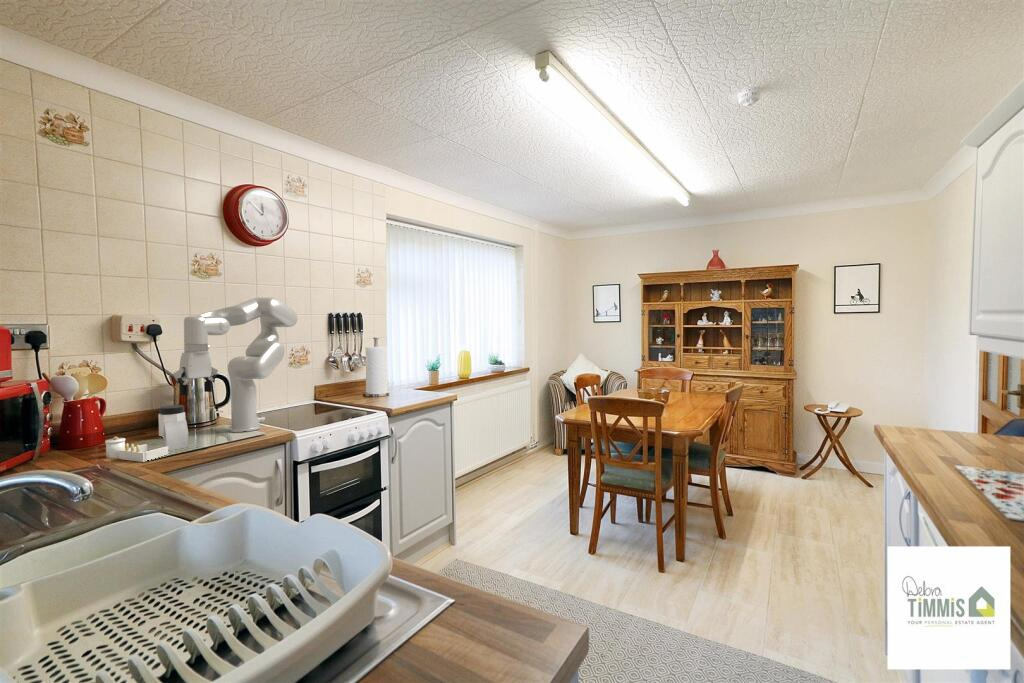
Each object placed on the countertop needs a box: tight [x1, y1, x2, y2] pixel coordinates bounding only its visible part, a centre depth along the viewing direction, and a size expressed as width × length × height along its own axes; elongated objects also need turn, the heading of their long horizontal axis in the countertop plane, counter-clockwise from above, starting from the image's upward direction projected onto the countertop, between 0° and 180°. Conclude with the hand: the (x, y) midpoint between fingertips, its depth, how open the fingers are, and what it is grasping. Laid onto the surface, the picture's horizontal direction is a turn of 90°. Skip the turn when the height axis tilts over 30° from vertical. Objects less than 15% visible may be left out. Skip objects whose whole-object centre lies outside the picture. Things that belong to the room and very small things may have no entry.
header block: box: [118, 442, 169, 463], centre depth 161 cm, size 8×11×5 cm
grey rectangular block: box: [162, 419, 190, 451], centre depth 172 cm, size 4×7×10 cm, turn 141°
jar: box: [158, 404, 186, 437], centre depth 191 cm, size 9×8×12 cm
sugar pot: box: [104, 436, 126, 459], centre depth 163 cm, size 5×5×7 cm
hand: (196, 393), depth 180 cm, fingers open, 9 cm apart
